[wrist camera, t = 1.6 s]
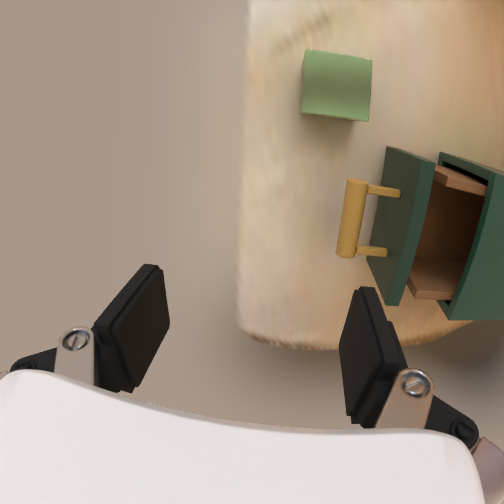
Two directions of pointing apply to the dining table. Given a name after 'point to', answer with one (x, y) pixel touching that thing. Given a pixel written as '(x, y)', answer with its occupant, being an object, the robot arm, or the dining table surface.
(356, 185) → the drawer
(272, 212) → the dining table surface
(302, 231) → the dining table surface
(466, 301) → the cabinet
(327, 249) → the dining table surface
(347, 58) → the block
